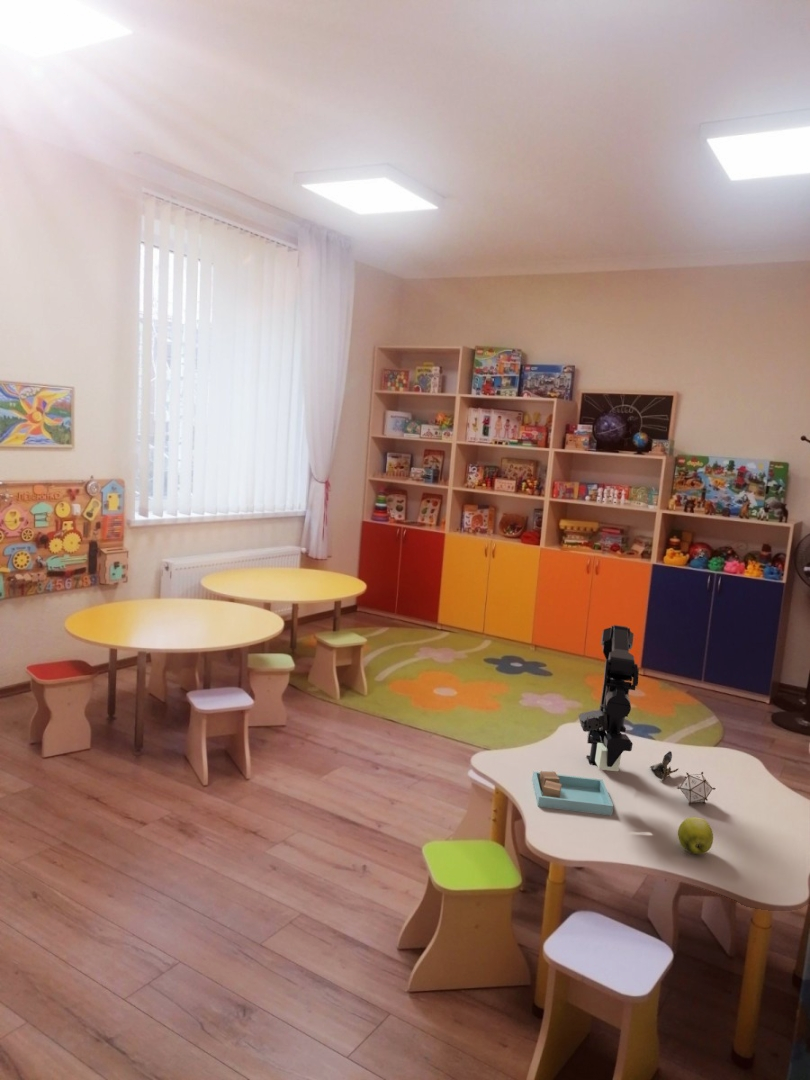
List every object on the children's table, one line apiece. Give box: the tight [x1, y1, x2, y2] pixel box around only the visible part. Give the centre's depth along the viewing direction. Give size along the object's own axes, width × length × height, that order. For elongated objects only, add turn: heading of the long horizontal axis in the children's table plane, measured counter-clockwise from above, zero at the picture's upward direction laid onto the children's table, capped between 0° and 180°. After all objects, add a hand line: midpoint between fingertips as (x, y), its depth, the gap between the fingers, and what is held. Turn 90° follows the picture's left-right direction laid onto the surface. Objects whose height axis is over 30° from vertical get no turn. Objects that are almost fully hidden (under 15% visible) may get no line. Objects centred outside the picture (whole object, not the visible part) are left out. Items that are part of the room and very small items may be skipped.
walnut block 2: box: [543, 780, 562, 798], centre depth 201 cm, size 4×4×4 cm
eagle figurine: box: [649, 750, 679, 782], centre depth 224 cm, size 8×7×9 cm
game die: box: [676, 771, 716, 806], centre depth 208 cm, size 9×8×10 cm
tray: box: [531, 771, 614, 816], centre depth 203 cm, size 15×19×3 cm
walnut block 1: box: [539, 770, 559, 792], centre depth 206 cm, size 4×4×4 cm
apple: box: [677, 816, 714, 855], centre depth 183 cm, size 8×9×8 cm
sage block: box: [595, 743, 622, 772], centre depth 202 cm, size 5×5×5 cm
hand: (606, 762), depth 202 cm, fingers closed on sage block, 5 cm apart
